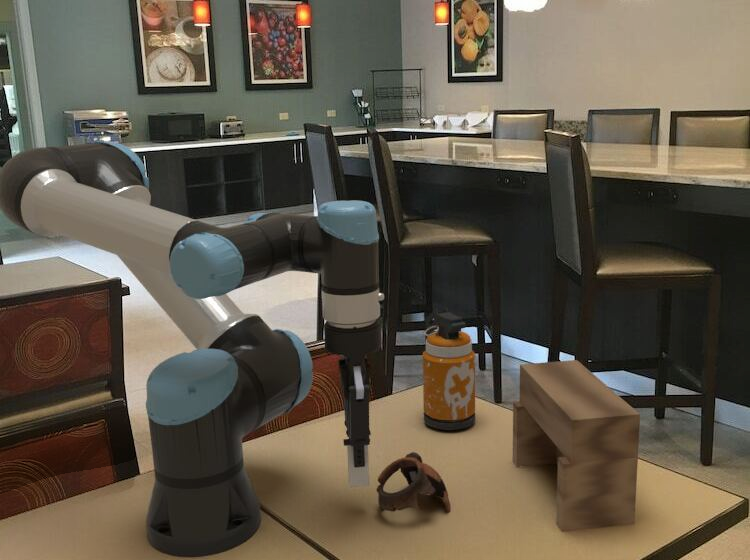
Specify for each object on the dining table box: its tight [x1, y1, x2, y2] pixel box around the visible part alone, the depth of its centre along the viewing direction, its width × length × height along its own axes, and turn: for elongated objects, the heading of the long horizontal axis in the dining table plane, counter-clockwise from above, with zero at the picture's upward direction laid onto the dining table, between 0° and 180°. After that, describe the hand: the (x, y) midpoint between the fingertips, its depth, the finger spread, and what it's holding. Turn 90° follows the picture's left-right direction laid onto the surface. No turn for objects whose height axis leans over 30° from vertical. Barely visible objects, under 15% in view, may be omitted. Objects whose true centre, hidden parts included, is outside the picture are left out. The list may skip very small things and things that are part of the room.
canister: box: [422, 307, 476, 431], centre depth 137 cm, size 9×11×20 cm
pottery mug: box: [376, 451, 451, 513], centre depth 111 cm, size 12×9×8 cm
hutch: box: [512, 359, 641, 533], centre depth 112 cm, size 10×21×16 cm, turn 8°
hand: (359, 483), depth 109 cm, fingers closed
